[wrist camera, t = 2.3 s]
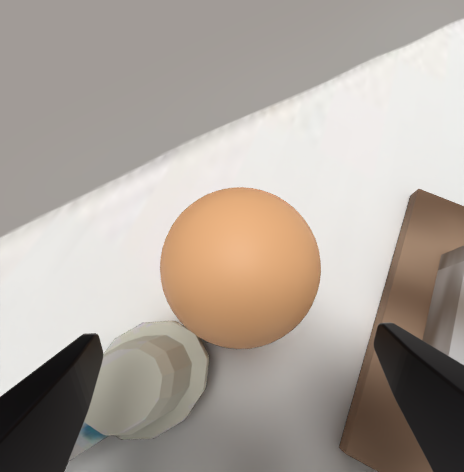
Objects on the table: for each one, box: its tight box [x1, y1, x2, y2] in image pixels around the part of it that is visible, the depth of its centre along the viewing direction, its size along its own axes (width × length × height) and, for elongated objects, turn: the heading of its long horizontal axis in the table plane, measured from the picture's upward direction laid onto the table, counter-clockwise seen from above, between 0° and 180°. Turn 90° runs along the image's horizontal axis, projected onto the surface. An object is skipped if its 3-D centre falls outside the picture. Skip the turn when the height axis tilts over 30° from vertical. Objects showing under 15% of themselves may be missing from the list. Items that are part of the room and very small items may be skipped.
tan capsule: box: [160, 187, 321, 349], centre depth 13 cm, size 5×5×13 cm
